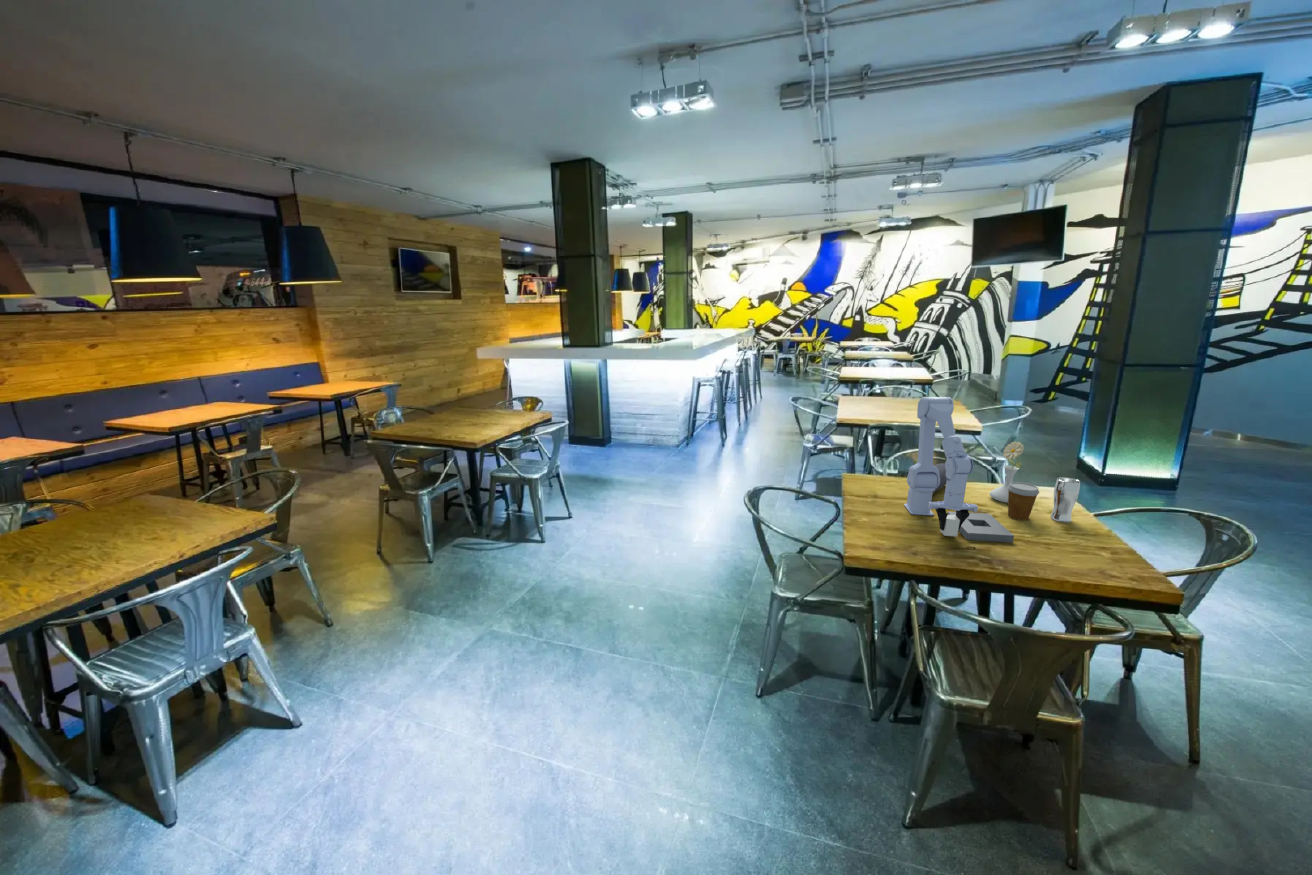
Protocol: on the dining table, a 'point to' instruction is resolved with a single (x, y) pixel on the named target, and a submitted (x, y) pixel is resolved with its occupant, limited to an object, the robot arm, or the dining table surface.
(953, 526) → the plug block
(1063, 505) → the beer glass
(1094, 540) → the dining table surface
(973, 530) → the socket plate
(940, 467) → the bluetooth speaker
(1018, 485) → the disposable coffee cup
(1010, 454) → the flower in vase
